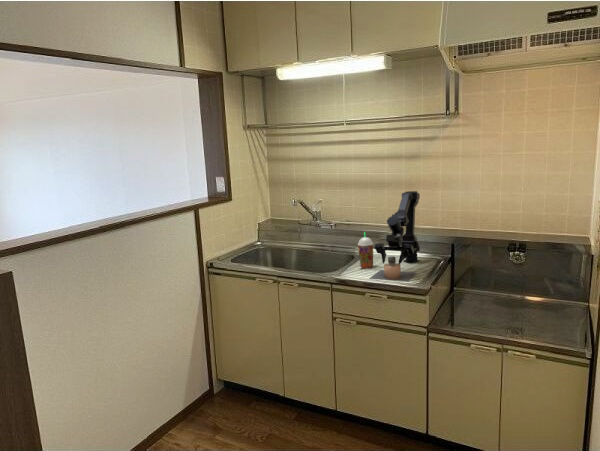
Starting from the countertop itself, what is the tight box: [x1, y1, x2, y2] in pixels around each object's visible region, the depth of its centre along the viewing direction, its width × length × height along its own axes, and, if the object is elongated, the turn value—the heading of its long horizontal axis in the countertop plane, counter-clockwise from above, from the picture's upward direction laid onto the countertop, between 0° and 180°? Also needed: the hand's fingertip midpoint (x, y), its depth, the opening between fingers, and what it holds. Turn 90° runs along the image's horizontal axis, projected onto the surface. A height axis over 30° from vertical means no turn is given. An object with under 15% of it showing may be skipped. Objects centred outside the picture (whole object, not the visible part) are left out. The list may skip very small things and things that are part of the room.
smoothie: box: [357, 231, 374, 270], centre depth 244 cm, size 8×8×20 cm
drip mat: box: [368, 269, 419, 282], centre depth 225 cm, size 20×16×1 cm
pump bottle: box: [383, 262, 402, 279], centre depth 222 cm, size 8×8×7 cm
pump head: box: [387, 256, 397, 264], centre depth 220 cm, size 6×4×4 cm, turn 151°
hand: (391, 263), depth 220 cm, fingers open, 8 cm apart
